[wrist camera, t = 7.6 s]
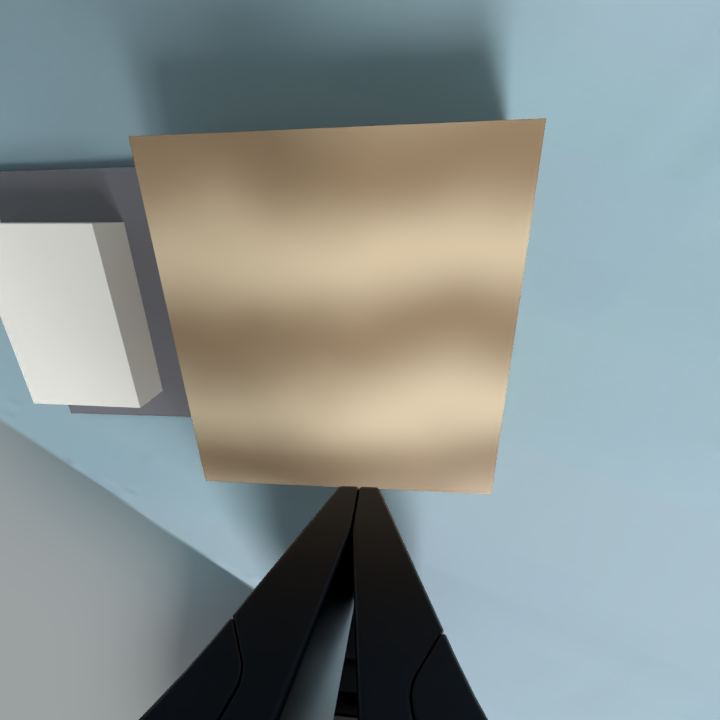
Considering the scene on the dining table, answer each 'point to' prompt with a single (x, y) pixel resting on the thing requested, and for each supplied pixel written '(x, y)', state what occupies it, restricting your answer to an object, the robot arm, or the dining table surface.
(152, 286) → the mat
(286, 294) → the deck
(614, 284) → the dining table surface
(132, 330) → the white box
